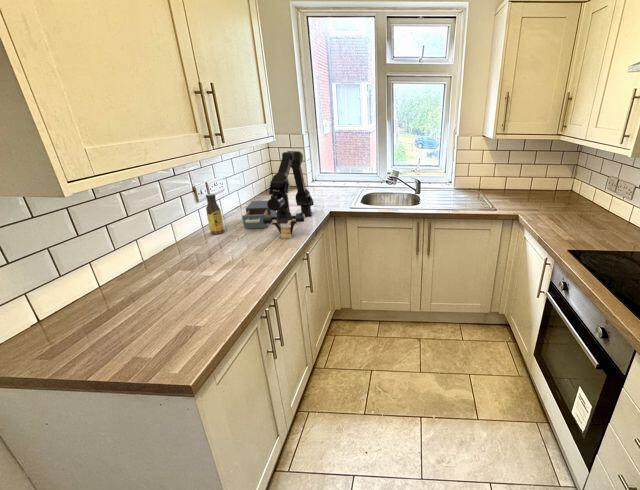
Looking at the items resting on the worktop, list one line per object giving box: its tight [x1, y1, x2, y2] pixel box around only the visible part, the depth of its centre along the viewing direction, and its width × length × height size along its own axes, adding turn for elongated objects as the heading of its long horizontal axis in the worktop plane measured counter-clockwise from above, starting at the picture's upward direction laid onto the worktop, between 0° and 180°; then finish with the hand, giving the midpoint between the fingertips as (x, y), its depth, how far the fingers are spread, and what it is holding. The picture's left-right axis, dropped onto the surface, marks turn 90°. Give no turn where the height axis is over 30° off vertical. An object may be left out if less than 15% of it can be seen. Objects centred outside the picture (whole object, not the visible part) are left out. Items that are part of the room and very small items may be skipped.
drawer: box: [241, 209, 270, 229], centre depth 167 cm, size 18×11×7 cm, turn 11°
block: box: [280, 226, 293, 239], centre depth 156 cm, size 4×4×4 cm
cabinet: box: [245, 199, 277, 217], centre depth 179 cm, size 15×13×9 cm
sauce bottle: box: [205, 193, 225, 235], centre depth 157 cm, size 7×6×20 cm
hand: (286, 234), depth 156 cm, fingers closed on block, 4 cm apart
